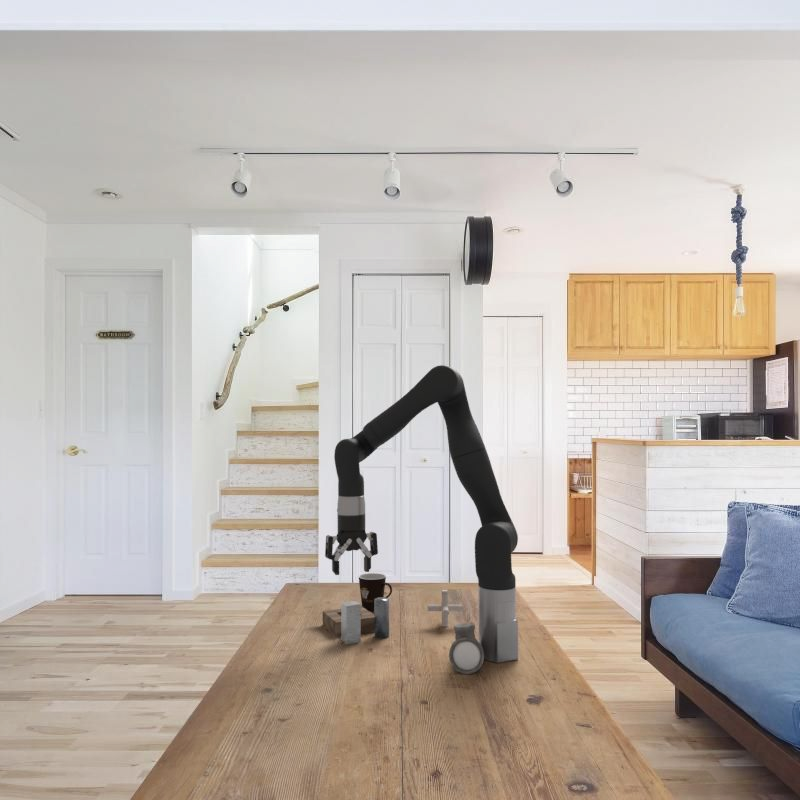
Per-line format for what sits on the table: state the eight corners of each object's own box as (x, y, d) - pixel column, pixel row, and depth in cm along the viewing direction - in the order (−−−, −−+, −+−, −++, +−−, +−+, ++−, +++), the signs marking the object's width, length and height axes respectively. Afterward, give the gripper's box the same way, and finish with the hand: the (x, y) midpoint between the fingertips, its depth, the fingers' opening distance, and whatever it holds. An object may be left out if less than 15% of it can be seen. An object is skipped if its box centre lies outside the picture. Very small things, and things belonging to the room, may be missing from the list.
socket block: (377, 631, 182) (377, 616, 182) (336, 637, 177) (336, 622, 177) (361, 619, 193) (361, 606, 193) (322, 625, 187) (322, 611, 188)
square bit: (360, 642, 173) (360, 604, 173) (346, 644, 171) (346, 605, 171) (355, 637, 176) (355, 600, 177) (341, 639, 175) (341, 602, 175)
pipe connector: (463, 631, 181) (463, 595, 182) (428, 631, 181) (427, 595, 182) (461, 620, 191) (460, 586, 192) (427, 620, 191) (427, 586, 192)
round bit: (391, 637, 176) (391, 600, 177) (377, 639, 175) (377, 601, 175) (385, 633, 180) (385, 596, 180) (372, 635, 178) (372, 598, 179)
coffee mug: (354, 606, 206) (354, 574, 207) (379, 603, 210) (379, 572, 210) (368, 616, 196) (368, 582, 196) (394, 612, 200) (394, 579, 200)
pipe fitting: (485, 674, 149) (481, 627, 150) (450, 675, 150) (446, 629, 151) (485, 661, 161) (481, 618, 162) (453, 662, 162) (449, 620, 163)
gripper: (330, 515, 169) (330, 578, 169) (381, 512, 175) (381, 573, 174) (321, 512, 176) (322, 572, 175) (370, 509, 182) (371, 567, 181)
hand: (351, 572), depth 175 cm, fingers open, 8 cm apart
